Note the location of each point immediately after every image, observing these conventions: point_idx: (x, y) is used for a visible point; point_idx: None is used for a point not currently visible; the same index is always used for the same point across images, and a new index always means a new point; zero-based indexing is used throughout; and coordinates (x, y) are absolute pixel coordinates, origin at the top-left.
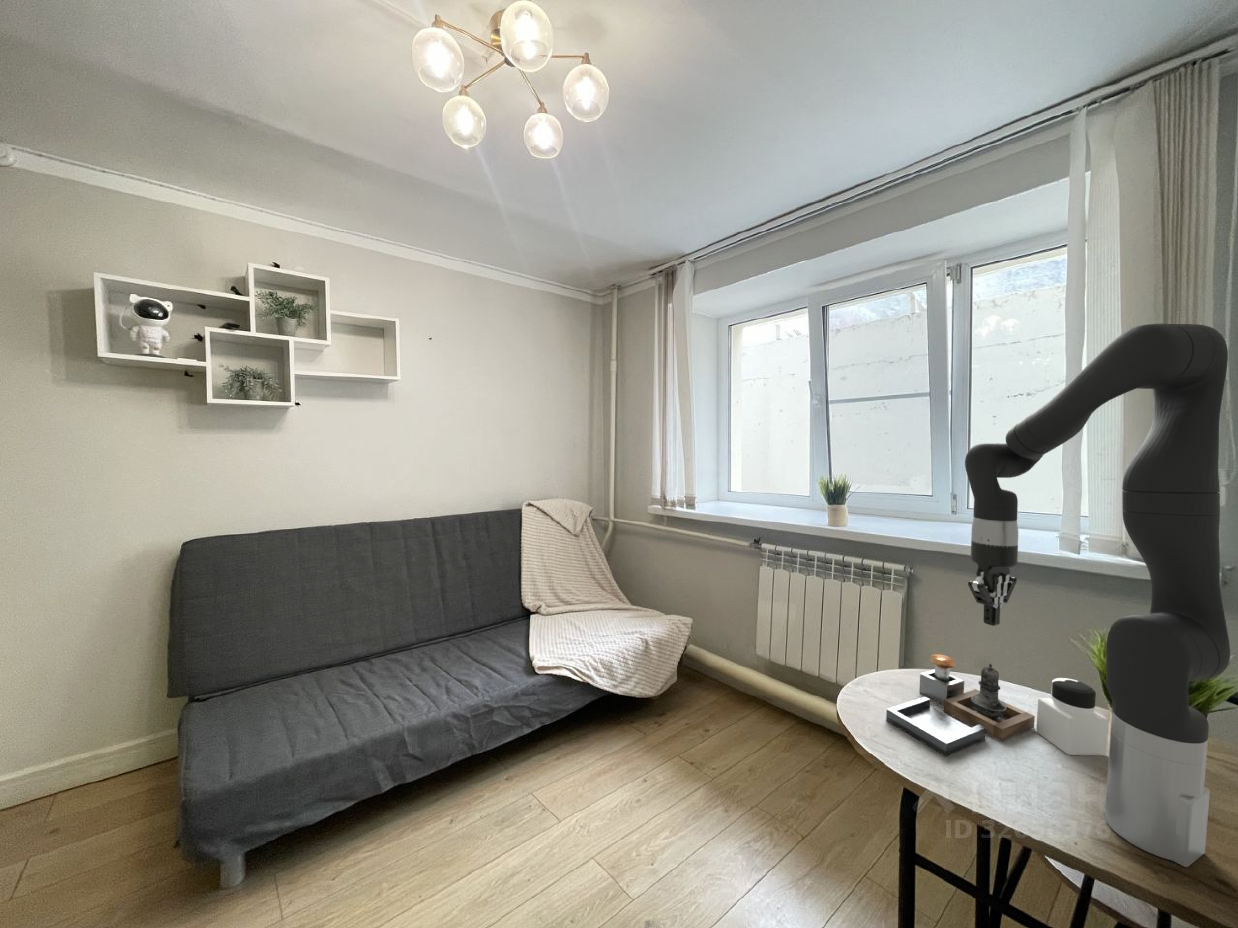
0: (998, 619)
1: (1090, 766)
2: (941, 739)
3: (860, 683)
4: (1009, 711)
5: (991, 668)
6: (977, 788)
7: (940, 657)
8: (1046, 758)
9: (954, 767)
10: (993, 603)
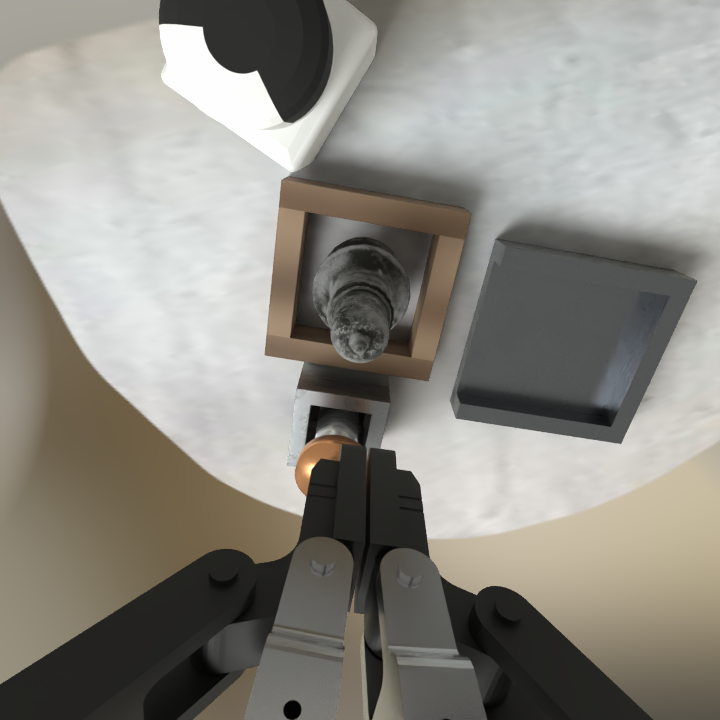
0: (360, 467)
1: None
2: (682, 297)
3: (461, 535)
4: (302, 245)
5: (364, 336)
6: None
7: None
8: (454, 92)
9: (711, 237)
10: (441, 600)
